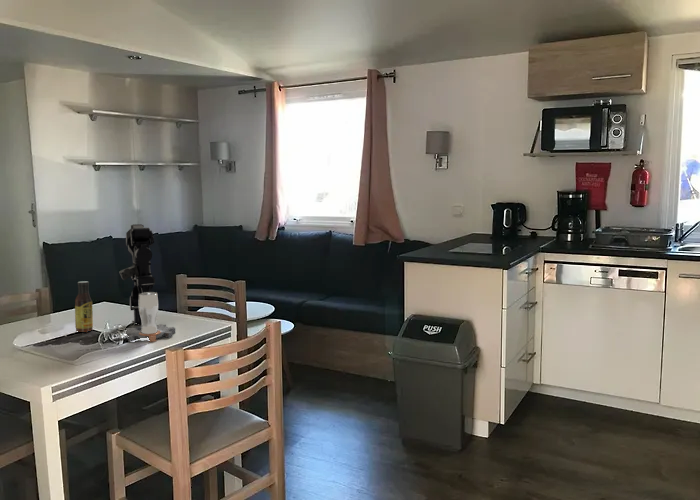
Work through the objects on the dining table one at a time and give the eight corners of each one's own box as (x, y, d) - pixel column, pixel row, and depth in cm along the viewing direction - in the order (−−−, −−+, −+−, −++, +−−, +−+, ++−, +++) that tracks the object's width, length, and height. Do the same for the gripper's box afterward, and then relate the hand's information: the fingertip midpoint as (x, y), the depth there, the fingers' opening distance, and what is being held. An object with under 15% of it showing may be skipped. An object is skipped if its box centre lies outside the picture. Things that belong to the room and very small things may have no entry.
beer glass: (161, 333, 215) (160, 293, 213) (142, 335, 211) (141, 295, 209) (155, 329, 221) (154, 291, 219) (137, 332, 216) (135, 293, 215)
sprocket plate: (117, 332, 224) (116, 327, 224) (169, 326, 233) (169, 321, 233) (124, 345, 206) (123, 339, 206) (180, 338, 216) (180, 332, 216)
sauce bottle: (86, 334, 222) (84, 283, 219) (72, 333, 223) (69, 282, 221) (97, 329, 228) (94, 280, 226) (83, 329, 229) (80, 280, 227)
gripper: (117, 258, 228) (118, 296, 230) (123, 263, 212) (125, 305, 213) (146, 256, 233) (147, 294, 235) (154, 262, 217) (156, 302, 219)
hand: (143, 298), depth 225 cm, fingers open, 9 cm apart
